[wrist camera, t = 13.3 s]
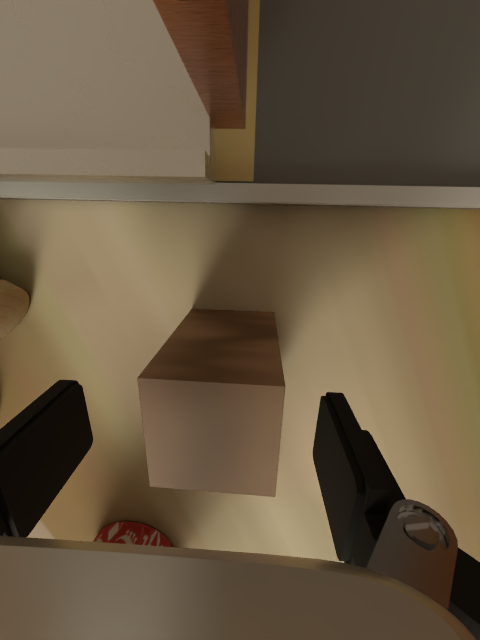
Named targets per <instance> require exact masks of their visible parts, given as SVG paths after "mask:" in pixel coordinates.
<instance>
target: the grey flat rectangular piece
mask: <svg viewBox="0 0 480 640" xmlns="http://www.w3.org/2000/svg"><path fill="white" fill-rule="evenodd" d="M0 198H1V199H41V200H88V201H134V202H181V203H227V204H274V205H320V206H367V207H413V208H459V209H480V0H249V12H248V51H247V90H246V128H245V129H215V185H172V184H116V183H60V182H4V181H0Z"/></svg>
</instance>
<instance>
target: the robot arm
mask: <svg viewBox="0 0 480 640" xmlns="http://www.w3.org/2000/svg"><path fill="white" fill-rule="evenodd" d="M92 443H93V435H92V431H91V426H90V421H89V416H88V411H87V407H86V402H85V397H84V392H83V388H82V386H81V385H80V384H79V383H78V382H77V381H75V380H59V381H57V382H56V383H55V384H54V385H53V386H51V387H50V388H49V389H48V390H47V391H45V392H44V393H43V394H42V395H41V396H39V397H38V398H37V399H36V400H35V401H34V402H32V403H31V404H30V405H29V406H28V407H26V408H25V409H24V410H23V411H22V412H20V413H19V414H18V415H17V416H16V417H14V418H13V419H12V420H11V421H10V422H8V423H7V424H6V425H5V426H4V427H2V428H1V429H0V640H480V562H478V561H477V560H475V559H474V558H473V557H471V556H470V555H468V554H467V553H465V552H464V551H462V550H461V549H460V548H458V543H457V538H456V536H455V533H454V531H453V530H452V528H451V527H450V525H449V524H448V523H447V521H446V520H445V519H444V518H443V517H442V516H441V515H440V514H439V513H437V512H436V511H435V510H433V509H432V508H430V507H429V506H427V505H425V504H423V503H420V502H418V501H414V500H410V499H407V500H406V499H405V497H404V495H403V493H402V491H401V489H400V487H399V486H398V484H397V482H396V480H395V478H394V476H393V474H392V473H391V471H390V469H389V467H388V465H387V463H386V461H385V460H384V458H383V456H382V454H381V452H380V450H379V449H378V447H377V445H376V443H375V441H374V439H373V437H372V436H371V434H370V433H369V432H368V431H367V430H361V428H360V426H359V424H358V422H357V420H356V418H355V416H354V414H353V412H352V410H351V408H350V406H349V404H348V402H347V400H346V398H345V396H344V394H343V393H333V392H327V393H326V396H321V400H320V406H319V413H318V420H317V426H316V433H315V440H314V447H313V460H314V464H315V468H316V472H317V476H318V480H319V484H320V489H321V493H322V497H323V501H324V505H325V509H326V513H327V517H328V521H329V525H330V529H331V533H332V537H333V541H334V545H335V550H336V554H337V557H338V559H339V561H344V563H341V562H334V561H327V560H320V559H311V558H301V557H290V556H280V555H269V554H257V553H244V552H230V551H217V550H204V549H190V548H176V547H162V546H148V545H133V544H118V543H104V542H89V541H73V540H57V539H41V538H40V539H39V538H26V537H27V536H28V535H29V534H30V533H31V531H32V530H33V528H34V527H35V525H36V524H37V523H38V521H39V520H40V518H41V517H42V516H43V514H44V513H45V511H46V510H47V509H48V507H49V506H50V504H51V503H52V501H53V500H54V499H55V497H56V496H57V494H58V493H59V492H60V490H61V489H62V487H63V486H64V485H65V483H66V482H67V480H68V479H69V478H70V476H71V475H72V473H73V472H74V470H75V469H76V468H77V466H78V465H79V463H80V462H81V461H82V459H83V458H84V456H85V455H86V454H87V452H88V451H89V449H90V448H91V446H92Z"/></svg>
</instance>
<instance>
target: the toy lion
mask: <svg viewBox="0 0 480 640" xmlns="http://www.w3.org/2000/svg"><path fill="white" fill-rule="evenodd" d="M28 307H29V296H28V294H27V292H26V291H25V290H23V289H21V288H19V287H18V286H16V285H14V284H12V283H10V282H8V281H5V280H0V339H1V338H3V337H5V336H6V335H7V334H9V333H10V332H11V331H13V330H14V329H15V328H16V327H17V325H18V324H19V323H20V322H21V321H22V319H23V318H24V316H25V314H26V312H27V310H28Z"/></svg>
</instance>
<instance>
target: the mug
mask: <svg viewBox="0 0 480 640" xmlns="http://www.w3.org/2000/svg"><path fill="white" fill-rule="evenodd" d="M93 542H104V543H118V544H133V545H148V546H162V547H172V545H171V543H170V542H169V541H168V539H167V538H166V537H165V536H164V535H163V534H162V533H160V532H159V531H157V530H156V529H154V528H152V527H150V526H147V525H145V524H141V523H136V522H126V521H122V522H116V523H112V524H110V525H108V526H106V527H104V528H103V529H102V530H101V531H100V532H99V533H98V535H97V536H96V538H95V539H94V541H93Z"/></svg>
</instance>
